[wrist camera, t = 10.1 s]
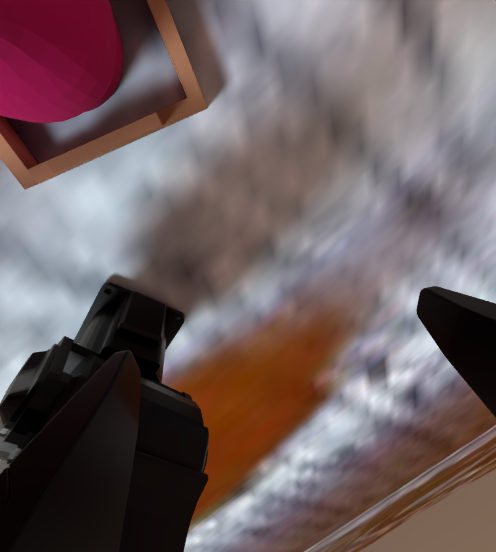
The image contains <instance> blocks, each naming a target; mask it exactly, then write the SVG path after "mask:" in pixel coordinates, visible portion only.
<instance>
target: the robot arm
mask: <svg viewBox="0 0 496 552" xmlns="http://www.w3.org/2000/svg"><path fill="white" fill-rule="evenodd" d="M107 288H108V289H111V292H108V291H106V289H107ZM417 315H418V317H419V319H420V320H421V322H422V323H423V325H424V326H425V328H426V329H427V331H428V332H429V334H430V335H431V336H432V338H433V339H434V341H435V342H436V344H437V345H438V347H439V348H440V350H441V351H442V353H443V354H444V355H445V357H446V358H447V359H448V361H449V362H450V363H451V364H452V366H453V367H454V368H455V369H456V370H457V372H458V373H459V374H460V375H461V376H462V378H463V379H464V380H465V381H466V382H467V384H468V385H469V386H470V387H471V388H472V390H473V391H474V392H475V393H476V395H477V396H478V397H479V398H480V399H481V401H482V402H483V403H484V404H485V405H486V407H487V408H488V409H489V410H490V411H491V413H492V414H493V415H494V416H495V417H496V304H495V303H492V302H489V301H485V300H482V299H478V298H475V297H472V296H468V295H465V294H461V293H458V292H454V291H451V290H448V289H444V288H441V287H437V286H433V287H428V288H424V289H422V290H421V292H420V295H419V300H418V305H417ZM177 317H179V318H181V319H179V320H177V319H176V318H177ZM184 321H185V316H184V314H183V313H182V312H179V311H177V310H174V309H172V308H170V307H167V306H166V305H165V304H163V303H161V302H159V301H156V300H154V299H151V298H149V297H147V296H144V295H142V294H140V293H137V292H132V291H129V290H127V289H124V288H122V287H120V286H117V285H115V284H112V283H105V284H103V286H102V287H101V289H100V291H99V293H98V295H97V297H96V299H95V301H94V303H93V305H92V307H91V309H90V310H89V312H88V314H87V316H86V318H85V320H84V322H83V324H82V326H81V328H80V330H79V332H78V334H77V336H76V337H75V339H74V340H72V339H70V338H68V337H66V336H64V337H63V338H62V340H61V341H60V342H59V343H58V345H57V344H54V345H53V346H52V348H51V349H50V350H49V349H48V351H43V352H35V353H32V355H31V356H30V357H29V358H28V360H27V361H26V362H25V364H24V365H23V367H22V368H21V370H20V371H19V373H18V374H17V376H16V377H15V379H14V380H13V382H12V383H11V385H10V386H9V388H8V390H7V391H6V393H5V395H4V397H3V399H2V401H1V403H0V552H184V547H185V542H186V537H187V533H188V529H189V525H190V522H191V519H192V516H193V513H194V510H195V507H196V504H197V501H198V499H199V497H200V495H201V493H202V491H203V489H204V487H205V485H206V483H207V481H208V475H207V474H205V473H203V472H204V470H205V466H206V461H207V455H208V441H209V432H208V428H207V427H205V426H204V425H203V419H202V413H201V410H200V408H199V407H198V405H197V404H196V402H194V401H192V398H191V396H190V395H189V394H187V393H185V392H182V393H181V392H179V391H176V390H174V389H172V388H170V387H168V386H166V385H164V384H161V383H162V374H163V365H164V356H165V350H166V349H167V347H168V346H169V344H170V343H171V341H172V340H173V338H174V337H175V335H176V334H177V332H178V331H179V329H180V327H181V326H182V324H183V323H184ZM78 343H79V344H78Z"/></svg>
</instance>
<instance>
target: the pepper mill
mask: <svg viewBox="0 0 496 552" xmlns="http://www.w3.org/2000/svg"><path fill="white" fill-rule="evenodd" d="M122 68H123V46H122V40H121V36H120V32H119V29H118V26H117V23H116V21H115V19H114V16H113V13H112V9H111V5H110V2H109V0H0V115H1V116H4V117H9V118H14V119H19V120H24V121H28V122H37V123H51V122H60V121H65V120H68V119H70V118H73V117H76V116H78V115H80V114H82V113H84V112H86V111H90V110H93V109H95V108H97V107H99V106H100V105H102V104H103V103H104V102H105V101H107V100H108V99H109V98H110V97H111V96H112V94H113V93H114V91H115V89H116V87H117V85H118V83H119V81H120V78H121V74H122Z"/></svg>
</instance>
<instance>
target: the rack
mask: <svg viewBox="0 0 496 552" xmlns="http://www.w3.org/2000/svg"><path fill="white" fill-rule="evenodd" d="M146 1H147V3H148V6H149V8H150V11H151V13H152V15H153V18H154V20H155V22H156V25H157V27H158V30H159V32H160V34H161V37H162V39H163V42H164V44H165V46H166V49H167V51H168V54H169V56H170V58H171V61H172V63H173V66H174V68H175V70H176V73H177V75H178V77H179V80H180V82H181V85H182V87H183V89H184V92H185V94H186V97H187V98H186V99H184V100H181V101H179V102H177V103H175V104H173V105H170V106H168V107H166V108H164V109H161V110H159V111H157V112H155V113H152V114H150V115H148V116H146V117H144V118H141V119H139V120H137V121H135V122H132V123H130V124H128V125H126V126H124V127H121V128H119V129H117V130H115V131H112V132H110V133H108V134H106V135H103V136H101V137H99V138H97V139H95V140H92V141H90V142H88V143H86V144H83V145H81V146H79V147H77V148H75V149H72V150H70V151H68V152H66V153H63V154H61V155H59V156H57V157H54V158H52V159H50V160H48V161H46V162H43V163H41V164H38V163H37V162H36V160H35V159H34V157H33V156H32V155H31V153H30V152H29V150H28V149H27V148H26V146H25V145H24V143H23V142H22V141H21V139H20V138H19V136H18V135H17V134H16V132H15V131H14V129H13V128H12V127H11V125H10V124H9V122H8V121H7V120H6V118H5V117H4V116H1V115H0V158H1V159H2V161H3V162H4V163H5V165H6V166H7V167H8V168H9V170H10V171H11V172H12V174H13V175H14V176H15V178H16V179H17V180H18V181H19V183H20V184H21V185H22V187H23V188H24V189H27V188H30V187H32V186H35V185H37V184H39V183H42V182H44V181H46V180H48V179H51V178H53V177H55V176H57V175H60V174H62V173H64V172H66V171H69V170H71V169H73V168H75V167H78V166H80V165H82V164H84V163H86V162H89V161H91V160H93V159H95V158H98V157H100V156H102V155H104V154H107V153H109V152H111V151H113V150H116V149H118V148H120V147H122V146H124V145H127V144H129V143H131V142H133V141H136V140H138V139H140V138H142V137H145V136H147V135H149V134H151V133H154V132H156V131H158V130H160V129H163V128H165V127H167V126H169V125H171V124H174V123H176V122H178V121H180V120H183V119H185V118H187V117H189V116H192V115H194V114H196V113H198V112H201V111H203V110H205V109H207V108H208V107H207V105H206V102H205V100H204V97H203V95H202V92H201V90H200V87H199V85H198V82H197V79H196V77H195V74H194V72H193V69H192V67H191V64H190V62H189V59H188V57H187V54H186V51H185V49H184V46H183V44H182V41H181V39H180V36H179V34H178V31H177V29H176V26H175V23H174V21H173V18H172V16H171V13H170V11H169V8H168V6H167V3H166V1H165V0H146Z"/></svg>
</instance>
